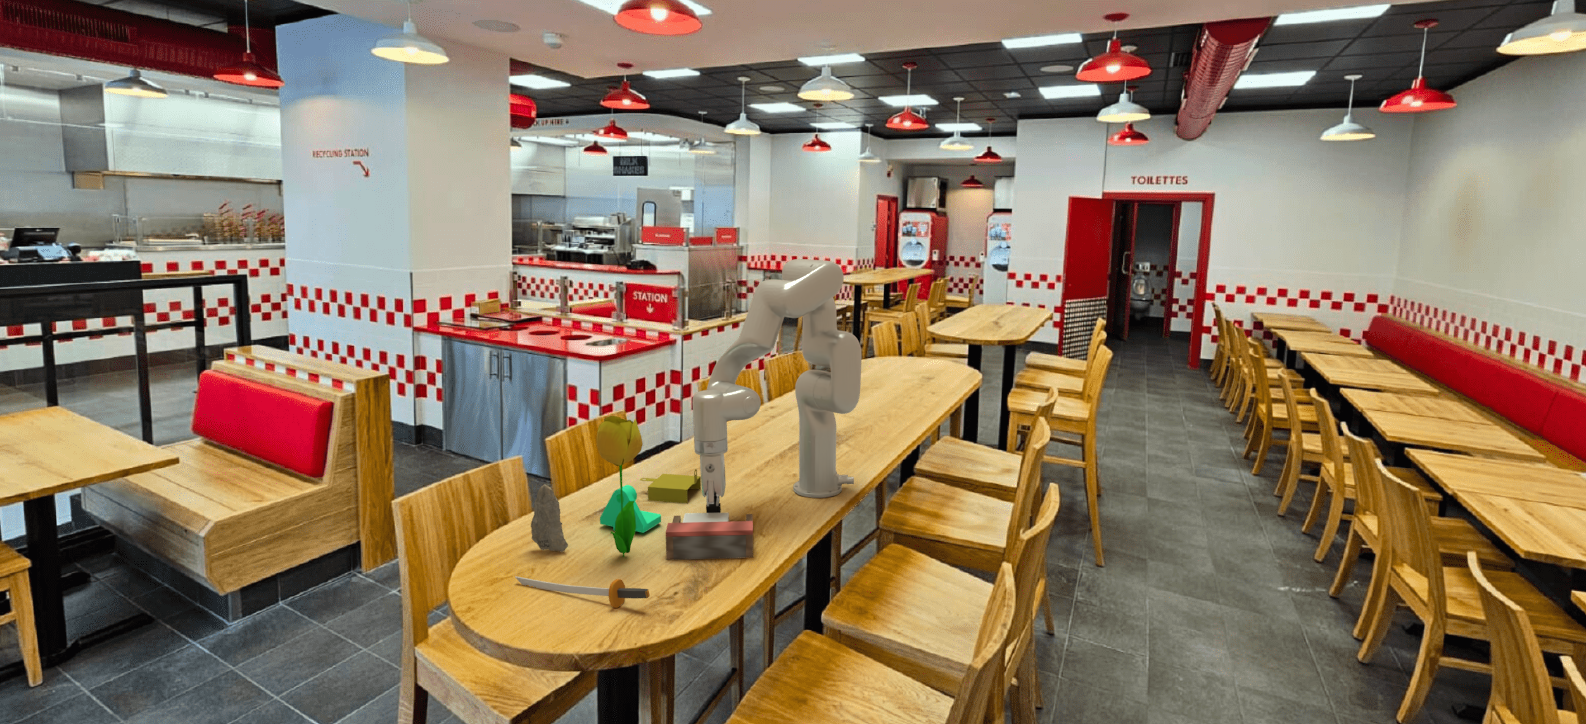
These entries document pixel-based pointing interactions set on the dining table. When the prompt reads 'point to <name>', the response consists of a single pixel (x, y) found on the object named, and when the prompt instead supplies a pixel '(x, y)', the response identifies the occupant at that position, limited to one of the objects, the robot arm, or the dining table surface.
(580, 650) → the dining table surface
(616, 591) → the katana
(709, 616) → the dining table surface
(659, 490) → the bracket
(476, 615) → the dining table surface
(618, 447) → the flower
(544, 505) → the stone tool
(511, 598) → the dining table surface
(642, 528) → the camera mount
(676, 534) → the bridge
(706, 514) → the panel
